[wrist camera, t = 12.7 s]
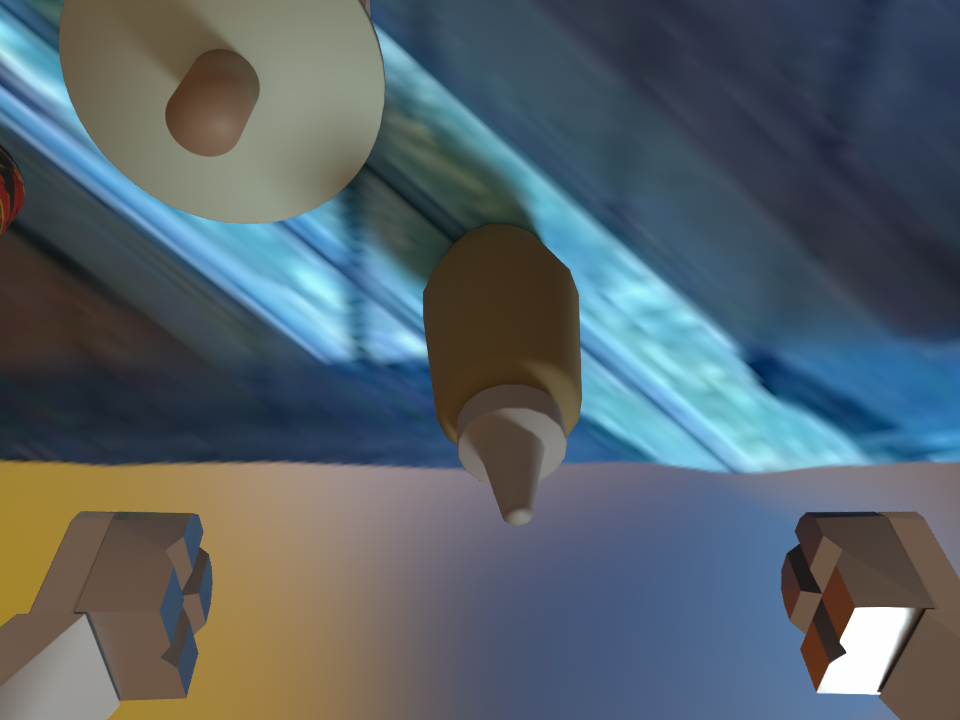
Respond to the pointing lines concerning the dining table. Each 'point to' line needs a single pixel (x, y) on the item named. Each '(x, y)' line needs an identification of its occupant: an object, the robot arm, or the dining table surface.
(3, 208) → the deodorant
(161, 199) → the lid
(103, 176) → the dining table surface
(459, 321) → the squeeze bottle
